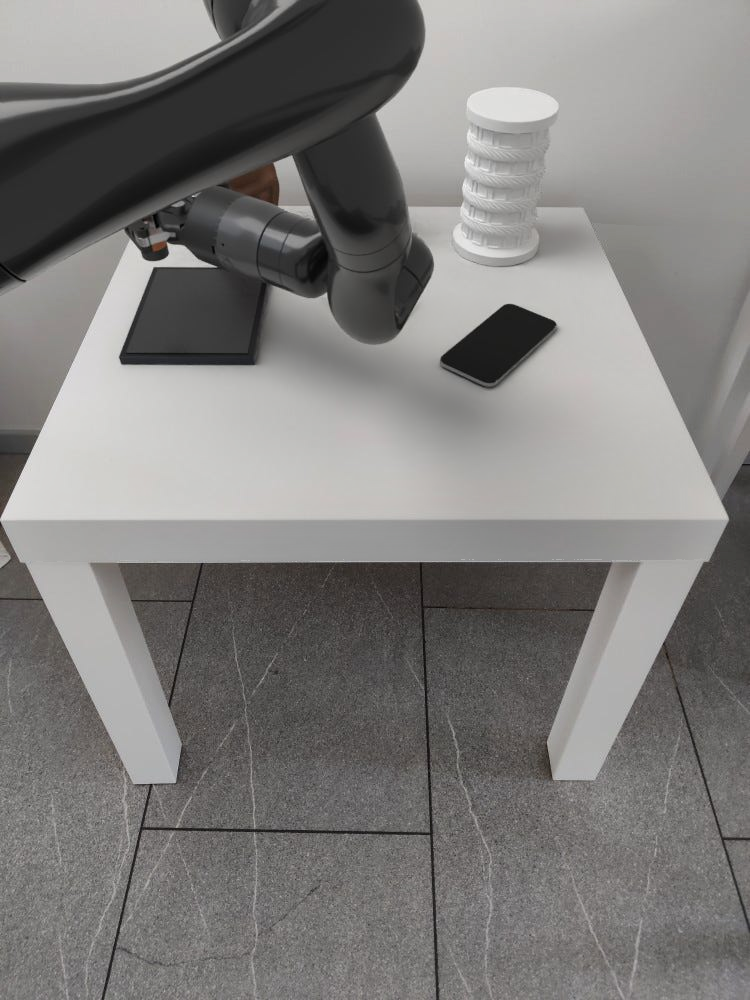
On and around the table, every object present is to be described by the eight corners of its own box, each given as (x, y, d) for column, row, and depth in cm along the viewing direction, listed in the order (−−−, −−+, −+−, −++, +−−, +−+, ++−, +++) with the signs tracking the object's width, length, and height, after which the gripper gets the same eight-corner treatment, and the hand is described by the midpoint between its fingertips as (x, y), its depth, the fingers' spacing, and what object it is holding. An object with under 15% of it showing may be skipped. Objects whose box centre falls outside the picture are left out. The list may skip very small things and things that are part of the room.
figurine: (208, 224, 107) (189, 112, 96) (278, 214, 109) (267, 103, 98) (219, 256, 101) (200, 141, 90) (293, 245, 103) (283, 131, 92)
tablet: (120, 364, 86) (118, 356, 85) (155, 273, 99) (153, 266, 98) (254, 365, 86) (253, 357, 85) (271, 274, 98) (270, 266, 98)
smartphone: (560, 322, 90) (492, 385, 82) (559, 327, 90) (491, 390, 82) (507, 301, 93) (436, 359, 85) (506, 306, 93) (435, 364, 85)
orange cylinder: (154, 264, 85) (129, 165, 77) (136, 255, 86) (111, 157, 78) (174, 253, 86) (153, 155, 78) (157, 245, 88) (134, 147, 80)
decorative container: (446, 260, 101) (457, 118, 87) (458, 219, 108) (470, 82, 95) (534, 271, 99) (559, 127, 86) (540, 228, 107) (564, 90, 93)
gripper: (285, 172, 77) (161, 133, 84) (188, 230, 69) (60, 182, 76) (291, 241, 83) (175, 200, 89) (202, 302, 75) (82, 252, 81)
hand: (123, 192), depth 82 cm, fingers closed on orange cylinder, 3 cm apart
